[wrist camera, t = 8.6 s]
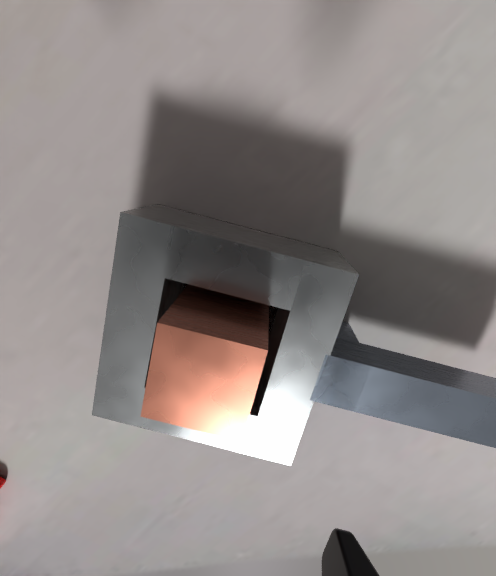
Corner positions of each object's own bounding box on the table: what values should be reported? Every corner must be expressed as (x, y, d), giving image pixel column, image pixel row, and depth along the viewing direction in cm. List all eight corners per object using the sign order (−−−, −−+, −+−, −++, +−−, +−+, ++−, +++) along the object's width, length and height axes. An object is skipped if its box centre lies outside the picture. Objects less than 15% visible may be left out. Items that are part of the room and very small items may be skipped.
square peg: (187, 332, 21) (140, 416, 14) (200, 268, 20) (157, 322, 13) (252, 348, 21) (241, 441, 14) (269, 286, 20) (267, 350, 13)
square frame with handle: (130, 364, 22) (91, 415, 17) (158, 204, 19) (120, 212, 14) (438, 443, 22) (483, 514, 18) (511, 296, 19) (589, 334, 15)
